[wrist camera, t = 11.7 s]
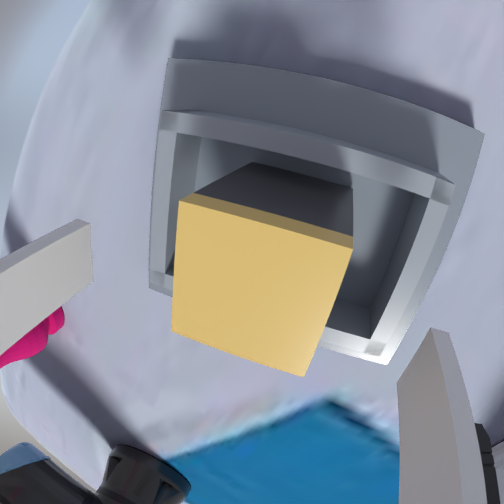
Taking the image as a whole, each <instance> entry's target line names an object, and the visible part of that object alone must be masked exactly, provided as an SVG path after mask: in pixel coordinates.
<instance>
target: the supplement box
mask: <svg viewBox="0 0 504 504" xmlns="http://www.w3.org/2000/svg"><path fill="white" fill-rule="evenodd" d="M492 455H493V458H494V463H495V464H494V467H495V469H496V475H497V481H498V488H499V495H500V504H504V441H503V442H501V443H499V444H497V445H496V446H494V447H492Z"/></svg>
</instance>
